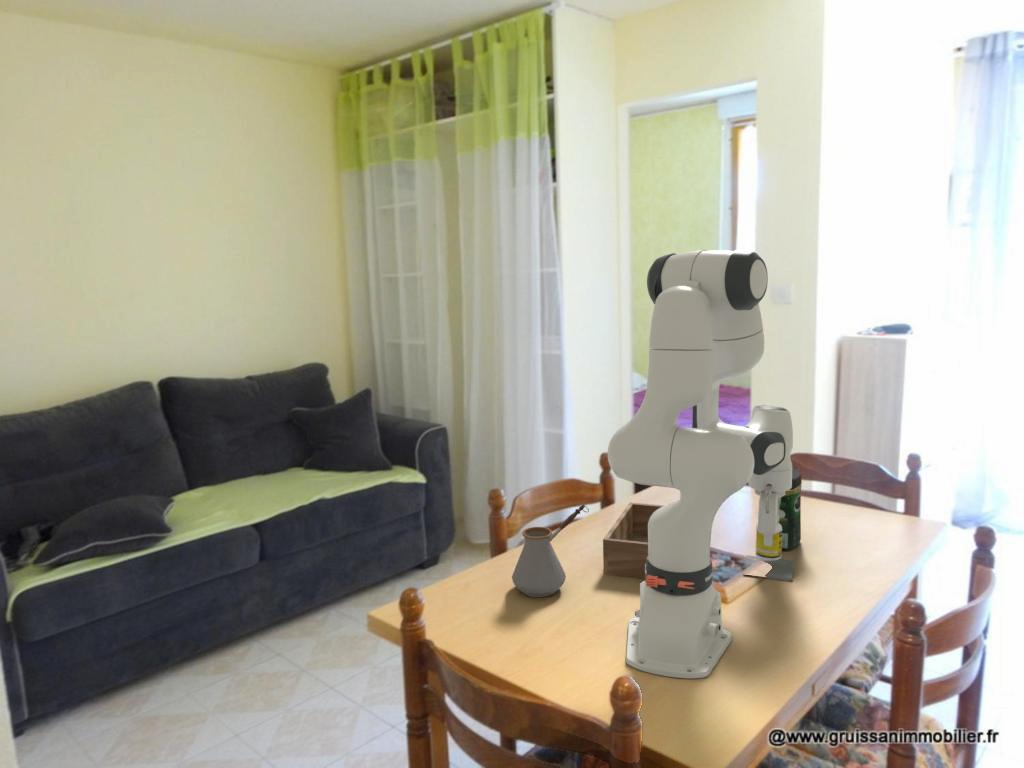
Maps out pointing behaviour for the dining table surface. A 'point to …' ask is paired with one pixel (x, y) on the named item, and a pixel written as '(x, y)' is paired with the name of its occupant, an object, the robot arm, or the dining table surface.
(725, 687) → the dining table surface
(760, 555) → the supplement bottle
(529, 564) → the coffee pot
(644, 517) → the crate
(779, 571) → the coaster
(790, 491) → the coffee jar
